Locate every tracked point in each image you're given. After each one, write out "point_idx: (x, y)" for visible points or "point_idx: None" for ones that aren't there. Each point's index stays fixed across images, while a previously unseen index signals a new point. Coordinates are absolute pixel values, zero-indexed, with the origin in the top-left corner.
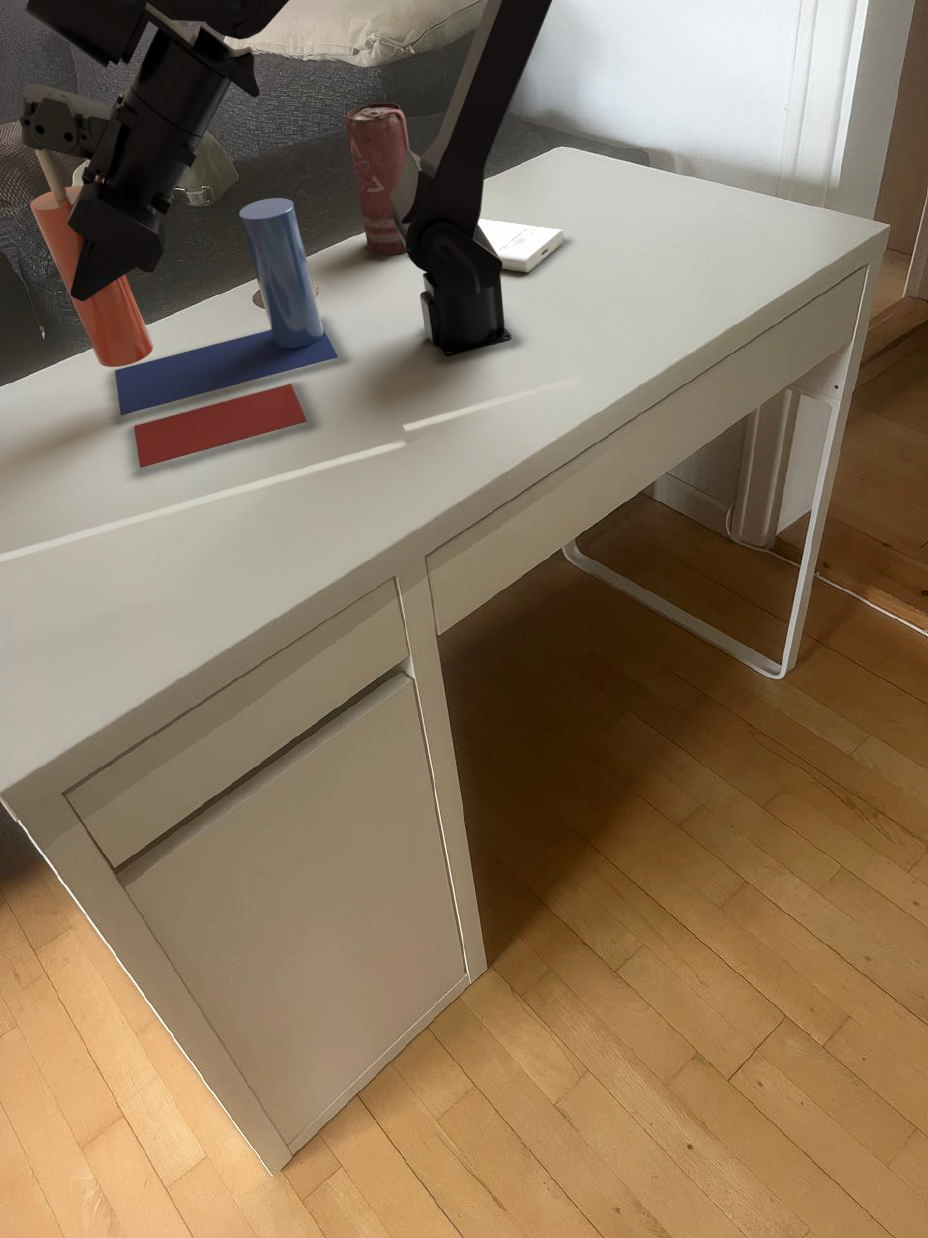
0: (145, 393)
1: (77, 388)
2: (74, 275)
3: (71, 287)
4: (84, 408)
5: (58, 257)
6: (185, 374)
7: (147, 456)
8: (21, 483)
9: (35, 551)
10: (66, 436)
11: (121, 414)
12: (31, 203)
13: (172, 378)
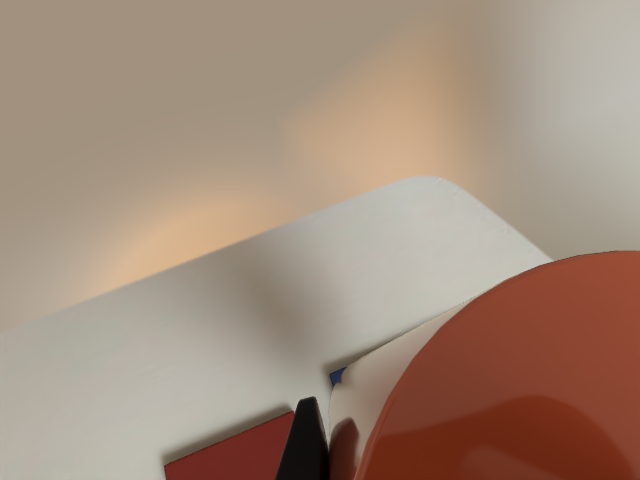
0: None
1: (429, 263)
2: (276, 475)
3: (293, 420)
4: (370, 295)
5: (345, 398)
6: None
7: (192, 470)
8: (191, 273)
9: (27, 352)
10: (296, 295)
11: (330, 374)
12: (568, 267)
13: None
